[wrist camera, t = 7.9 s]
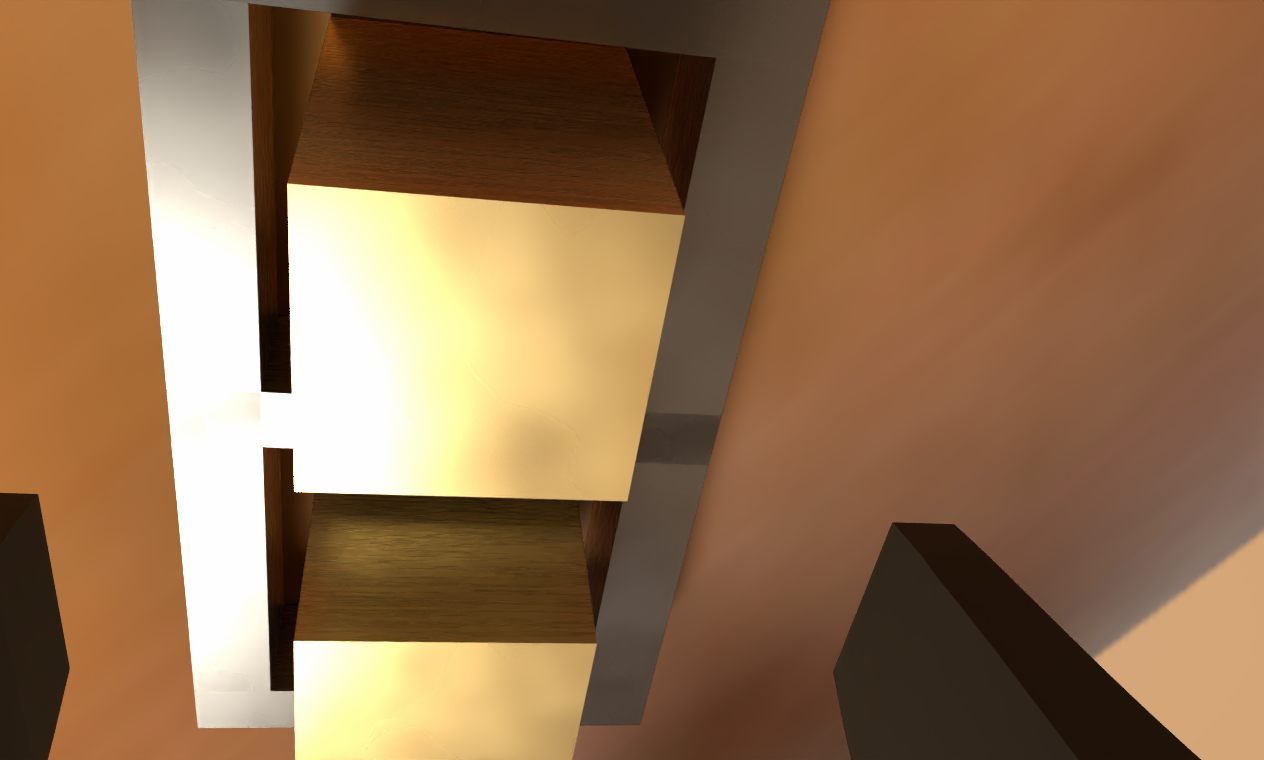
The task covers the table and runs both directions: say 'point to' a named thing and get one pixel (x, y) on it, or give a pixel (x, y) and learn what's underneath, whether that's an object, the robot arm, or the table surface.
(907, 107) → the table surface
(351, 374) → the honey wood cube
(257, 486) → the grey open box
